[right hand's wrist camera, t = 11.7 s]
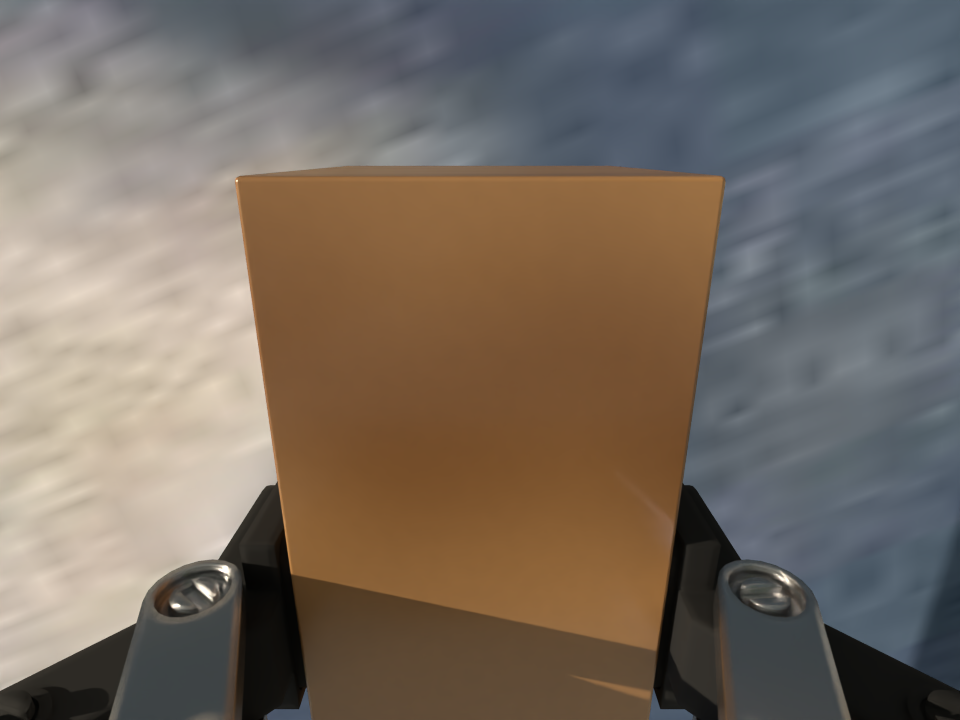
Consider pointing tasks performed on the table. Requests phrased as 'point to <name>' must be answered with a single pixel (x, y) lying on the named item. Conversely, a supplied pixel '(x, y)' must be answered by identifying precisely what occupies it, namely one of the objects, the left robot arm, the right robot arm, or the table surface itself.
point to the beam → (480, 426)
